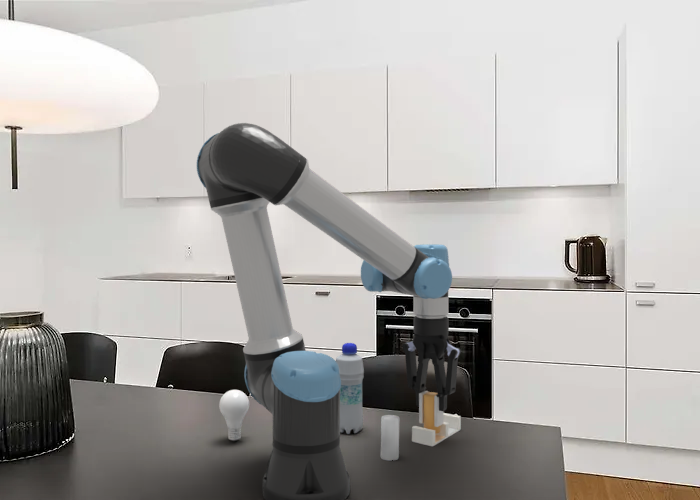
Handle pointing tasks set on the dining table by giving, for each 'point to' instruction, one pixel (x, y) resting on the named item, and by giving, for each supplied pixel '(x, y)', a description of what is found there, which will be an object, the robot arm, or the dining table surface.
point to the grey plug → (390, 437)
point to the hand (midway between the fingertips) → (431, 423)
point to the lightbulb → (234, 411)
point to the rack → (430, 438)
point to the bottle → (350, 388)
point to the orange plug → (429, 412)
